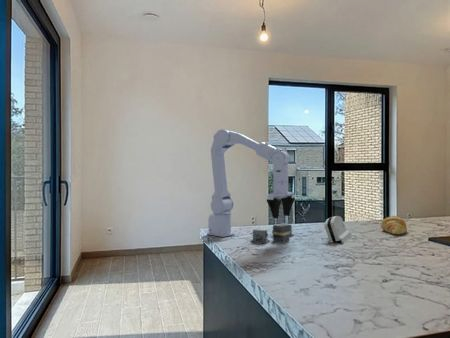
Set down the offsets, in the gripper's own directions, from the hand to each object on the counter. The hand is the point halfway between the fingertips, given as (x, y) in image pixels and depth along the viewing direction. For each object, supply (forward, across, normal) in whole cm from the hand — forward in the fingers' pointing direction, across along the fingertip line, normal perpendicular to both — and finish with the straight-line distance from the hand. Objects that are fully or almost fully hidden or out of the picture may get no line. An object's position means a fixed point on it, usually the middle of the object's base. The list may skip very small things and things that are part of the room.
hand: (281, 216), depth 140 cm
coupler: (+9, 0, 0) cm, 9 cm away
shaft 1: (+9, -5, +6) cm, 12 cm away
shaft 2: (+9, +8, +6) cm, 13 cm away
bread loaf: (+10, +47, -26) cm, 55 cm away
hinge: (+10, +17, -15) cm, 25 cm away
